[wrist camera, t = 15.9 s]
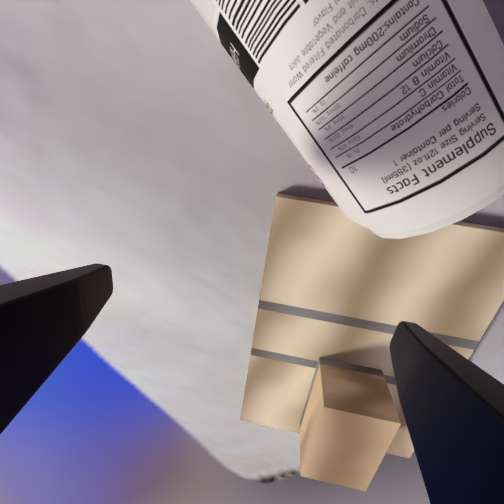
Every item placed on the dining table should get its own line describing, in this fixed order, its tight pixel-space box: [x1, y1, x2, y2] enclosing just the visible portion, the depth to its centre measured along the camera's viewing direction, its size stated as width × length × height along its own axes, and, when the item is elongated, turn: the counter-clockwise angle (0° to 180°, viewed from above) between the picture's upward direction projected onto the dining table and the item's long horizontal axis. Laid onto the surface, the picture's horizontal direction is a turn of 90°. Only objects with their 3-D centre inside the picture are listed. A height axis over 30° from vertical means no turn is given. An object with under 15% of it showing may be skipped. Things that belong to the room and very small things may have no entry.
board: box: [240, 193, 504, 458], centre depth 22 cm, size 16×22×1 cm
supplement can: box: [190, 0, 504, 239], centre depth 12 cm, size 8×8×15 cm
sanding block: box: [300, 357, 401, 491], centre depth 22 cm, size 5×8×4 cm, turn 173°
